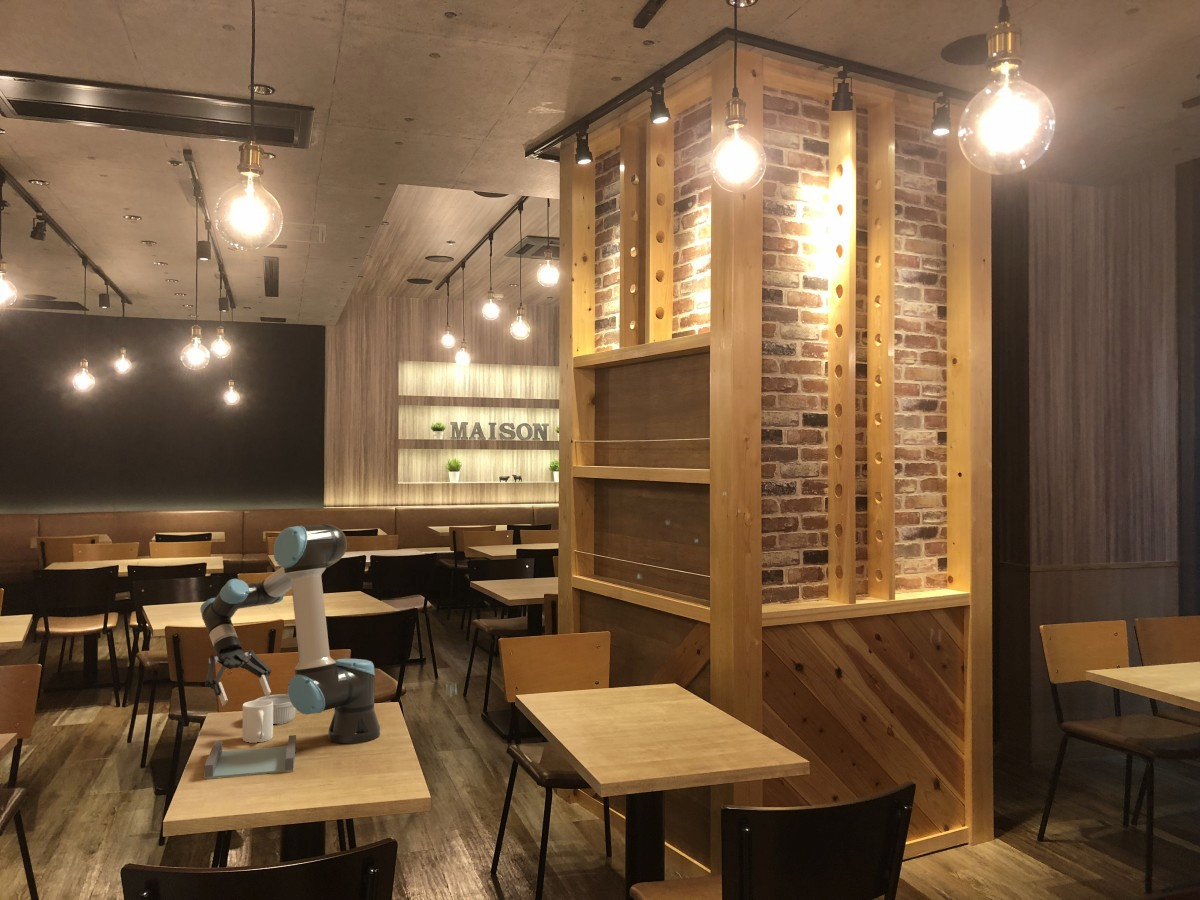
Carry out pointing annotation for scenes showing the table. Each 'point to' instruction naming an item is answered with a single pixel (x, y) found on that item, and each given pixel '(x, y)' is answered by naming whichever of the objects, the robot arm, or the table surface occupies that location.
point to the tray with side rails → (250, 760)
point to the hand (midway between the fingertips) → (247, 698)
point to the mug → (257, 721)
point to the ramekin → (281, 708)
